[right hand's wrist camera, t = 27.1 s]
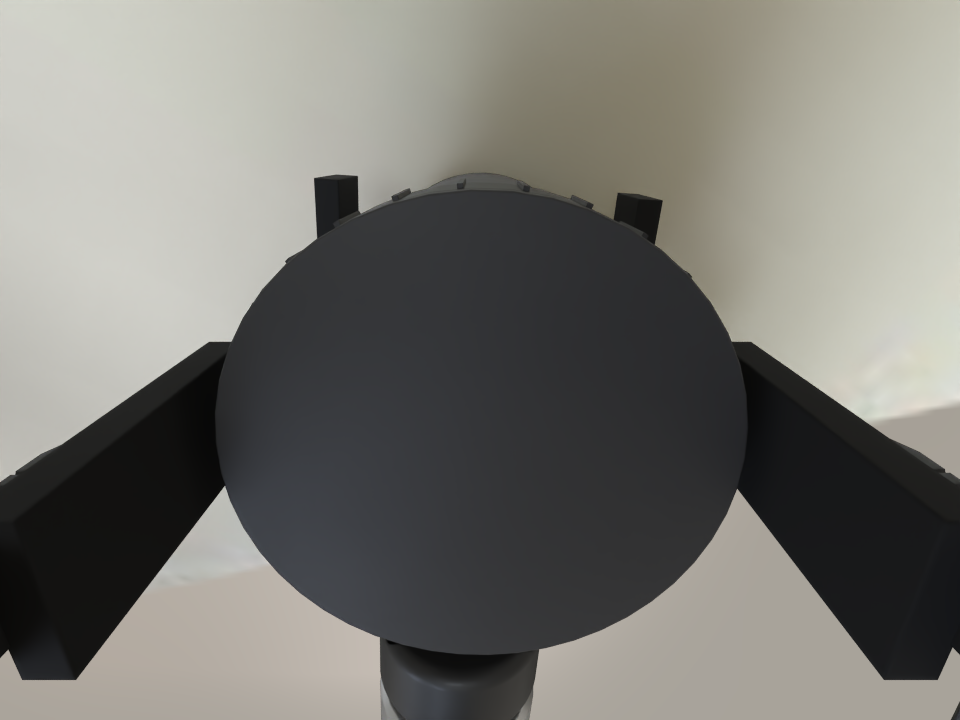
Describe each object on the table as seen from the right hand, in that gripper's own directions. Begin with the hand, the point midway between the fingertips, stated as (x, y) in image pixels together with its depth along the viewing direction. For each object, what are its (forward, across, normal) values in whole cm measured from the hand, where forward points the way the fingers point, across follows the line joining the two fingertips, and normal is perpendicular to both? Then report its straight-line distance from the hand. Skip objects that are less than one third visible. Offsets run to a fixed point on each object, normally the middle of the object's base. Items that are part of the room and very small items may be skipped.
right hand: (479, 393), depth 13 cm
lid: (-3, 0, 0) cm, 3 cm away
